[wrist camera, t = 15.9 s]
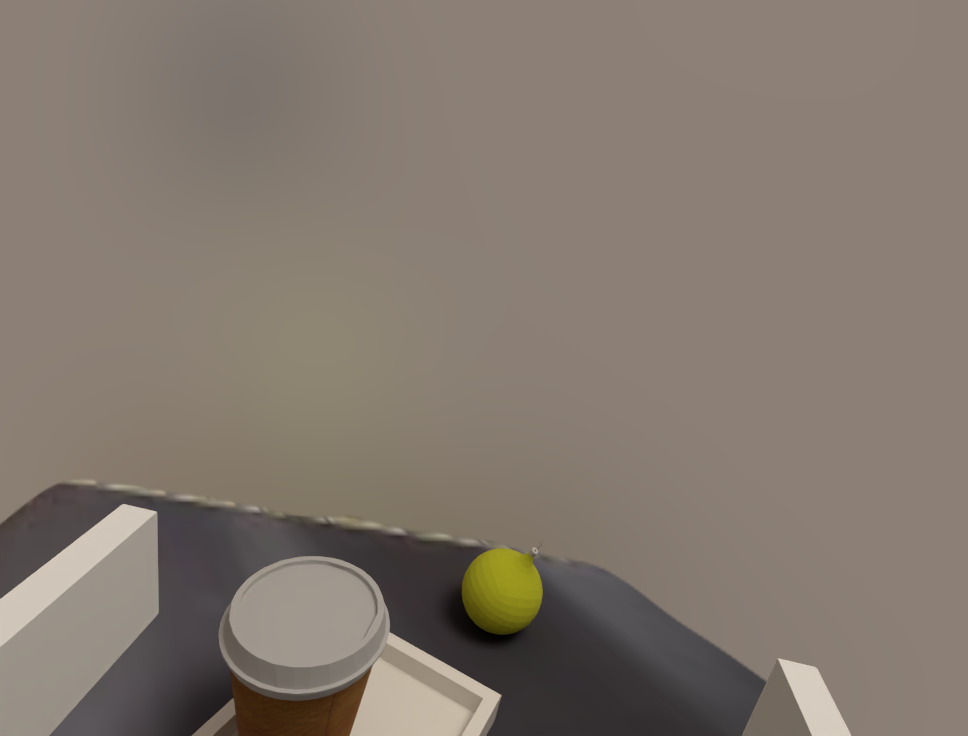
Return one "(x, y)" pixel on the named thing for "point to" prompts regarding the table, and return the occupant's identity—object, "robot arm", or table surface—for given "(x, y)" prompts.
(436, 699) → the square tray
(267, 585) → the disposable coffee cup
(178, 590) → the table surface
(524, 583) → the ornament
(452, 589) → the table surface
